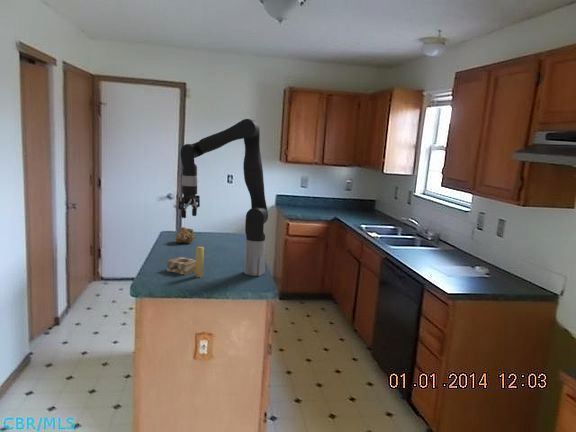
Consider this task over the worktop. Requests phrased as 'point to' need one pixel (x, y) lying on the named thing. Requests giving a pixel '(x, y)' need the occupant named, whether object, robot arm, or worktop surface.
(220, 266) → the worktop surface
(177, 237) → the rock
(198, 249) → the peg
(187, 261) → the socket mount
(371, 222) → the worktop surface
